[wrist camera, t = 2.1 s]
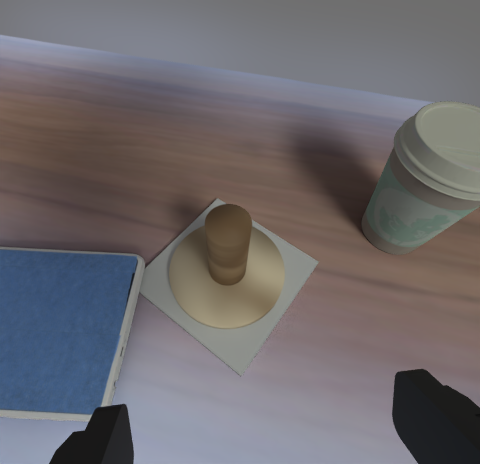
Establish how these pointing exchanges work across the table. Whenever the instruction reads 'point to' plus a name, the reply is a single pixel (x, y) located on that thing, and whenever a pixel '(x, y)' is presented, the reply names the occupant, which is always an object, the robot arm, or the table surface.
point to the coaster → (227, 340)
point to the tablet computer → (63, 329)
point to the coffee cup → (426, 178)
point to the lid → (227, 271)
